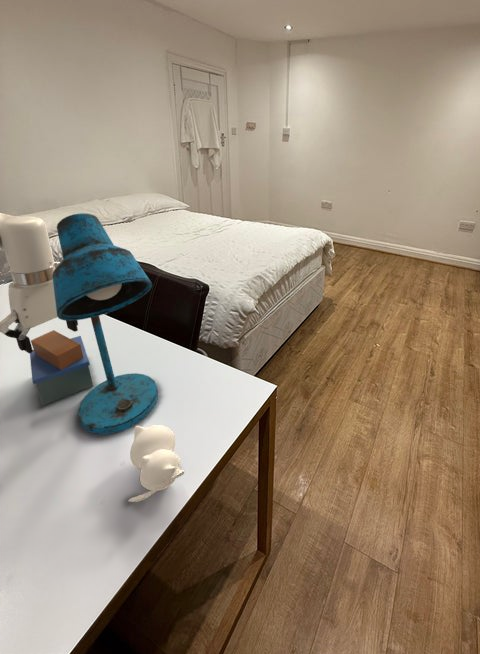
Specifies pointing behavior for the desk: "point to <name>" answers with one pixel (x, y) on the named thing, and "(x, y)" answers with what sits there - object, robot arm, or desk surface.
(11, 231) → the robot arm
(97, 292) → the desk lamp
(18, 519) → the desk surface
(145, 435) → the cat figurine
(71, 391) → the container
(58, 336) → the block
